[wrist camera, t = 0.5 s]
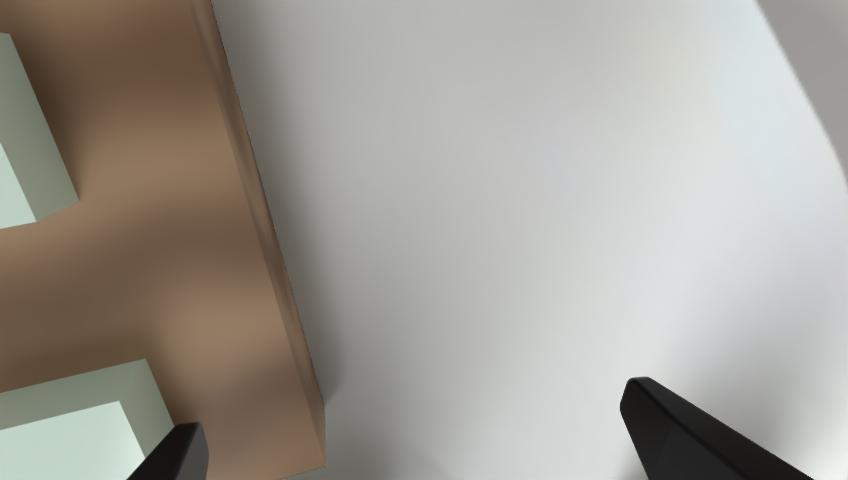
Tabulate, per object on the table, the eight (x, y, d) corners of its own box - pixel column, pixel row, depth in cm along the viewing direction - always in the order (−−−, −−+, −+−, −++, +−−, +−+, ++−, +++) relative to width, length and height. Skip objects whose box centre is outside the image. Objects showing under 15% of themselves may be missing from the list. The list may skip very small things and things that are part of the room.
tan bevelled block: (324, 407, 24) (325, 466, 20) (1, 493, 22) (-64, 577, 18) (200, -34, 17) (168, -67, 14) (-285, 26, 15) (-482, 7, 11)
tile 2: (189, 463, 19) (171, 516, 17) (55, 500, 18) (16, 561, 16) (145, 358, 17) (118, 400, 15) (-6, 394, 16) (-58, 444, 14)
